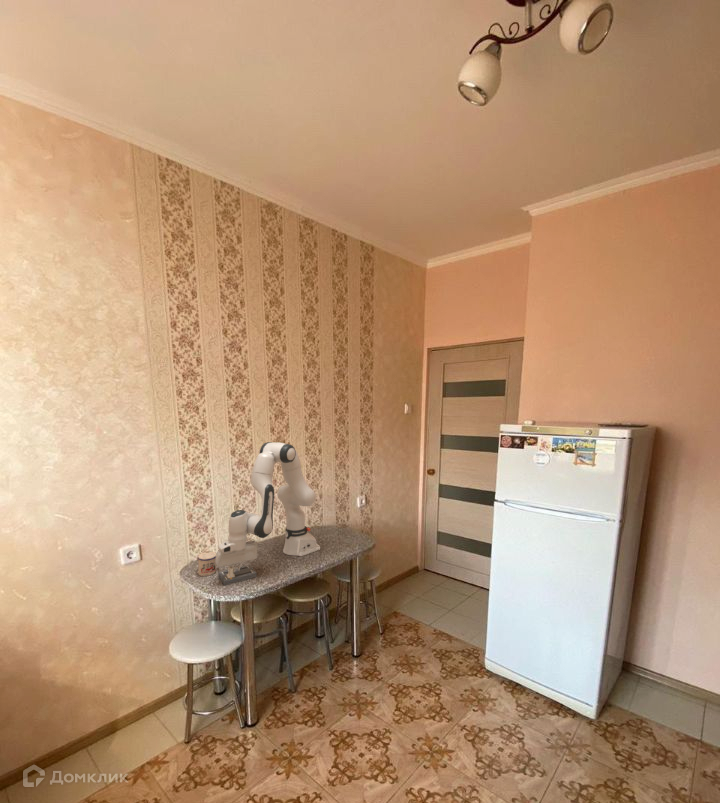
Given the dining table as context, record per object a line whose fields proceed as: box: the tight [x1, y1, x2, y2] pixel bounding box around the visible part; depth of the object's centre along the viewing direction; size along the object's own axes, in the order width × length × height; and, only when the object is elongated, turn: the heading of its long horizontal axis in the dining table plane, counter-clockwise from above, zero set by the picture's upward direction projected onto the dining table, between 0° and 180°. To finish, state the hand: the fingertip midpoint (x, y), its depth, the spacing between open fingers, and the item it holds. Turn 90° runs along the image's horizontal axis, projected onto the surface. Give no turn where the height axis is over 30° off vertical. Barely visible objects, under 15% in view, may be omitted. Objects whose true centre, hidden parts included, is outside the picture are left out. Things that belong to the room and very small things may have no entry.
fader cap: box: [226, 565, 235, 578], centre depth 181 cm, size 3×3×5 cm
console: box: [218, 563, 257, 586], centre depth 186 cm, size 16×11×7 cm
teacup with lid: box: [197, 549, 217, 577], centre depth 190 cm, size 12×9×12 cm
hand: (236, 571), depth 182 cm, fingers closed
